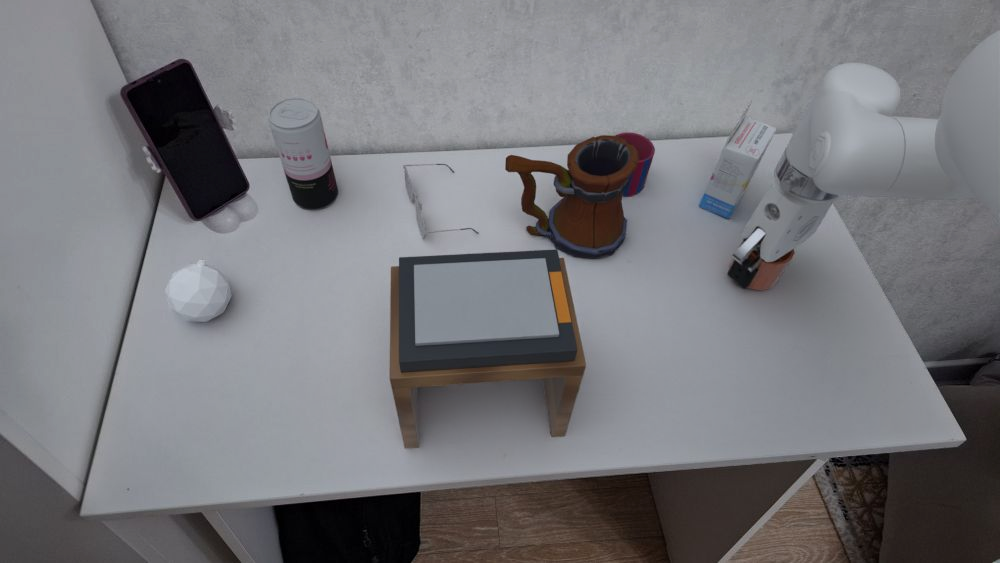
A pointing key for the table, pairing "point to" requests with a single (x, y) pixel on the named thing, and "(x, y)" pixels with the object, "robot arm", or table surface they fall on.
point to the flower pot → (768, 270)
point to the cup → (645, 160)
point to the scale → (483, 311)
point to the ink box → (736, 164)
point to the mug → (582, 196)
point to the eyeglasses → (419, 205)
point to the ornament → (198, 292)
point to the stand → (484, 375)
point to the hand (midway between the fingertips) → (755, 268)
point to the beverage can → (303, 152)
